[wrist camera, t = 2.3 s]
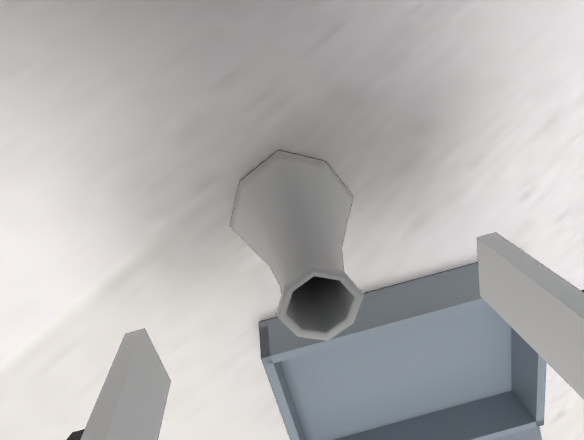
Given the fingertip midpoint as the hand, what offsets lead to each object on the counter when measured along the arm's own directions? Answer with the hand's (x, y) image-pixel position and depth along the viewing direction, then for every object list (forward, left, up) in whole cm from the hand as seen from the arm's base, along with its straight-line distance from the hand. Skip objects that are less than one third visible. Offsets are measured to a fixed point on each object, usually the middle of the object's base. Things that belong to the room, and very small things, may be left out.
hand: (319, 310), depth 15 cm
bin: (+14, +5, -10) cm, 17 cm away
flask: (0, 0, -10) cm, 10 cm away
